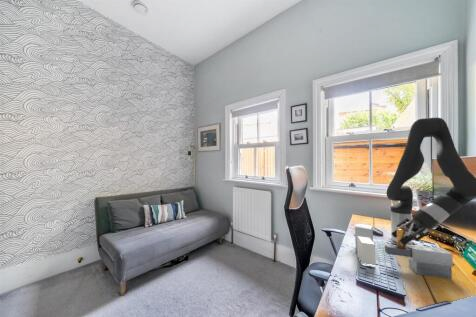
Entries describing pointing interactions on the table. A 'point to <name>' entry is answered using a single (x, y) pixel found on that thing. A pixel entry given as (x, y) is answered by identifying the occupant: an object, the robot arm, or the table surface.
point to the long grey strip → (399, 246)
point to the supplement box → (363, 232)
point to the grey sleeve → (431, 261)
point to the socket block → (366, 250)
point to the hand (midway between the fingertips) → (397, 239)
